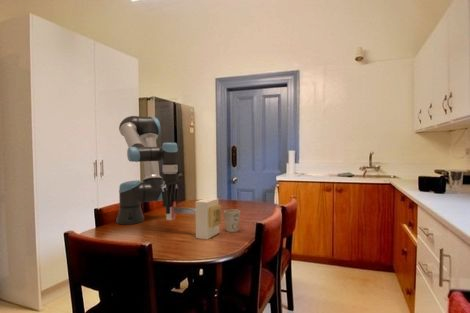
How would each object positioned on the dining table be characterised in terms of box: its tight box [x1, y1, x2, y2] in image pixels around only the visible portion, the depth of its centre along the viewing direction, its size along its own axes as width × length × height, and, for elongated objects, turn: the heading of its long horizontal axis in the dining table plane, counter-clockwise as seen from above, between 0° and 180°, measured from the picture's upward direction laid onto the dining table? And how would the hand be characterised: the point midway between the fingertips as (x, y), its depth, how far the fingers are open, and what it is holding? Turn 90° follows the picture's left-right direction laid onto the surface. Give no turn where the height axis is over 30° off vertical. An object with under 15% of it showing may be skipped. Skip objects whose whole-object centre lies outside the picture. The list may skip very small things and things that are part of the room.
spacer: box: [209, 204, 222, 228], centre depth 140 cm, size 2×9×9 cm, turn 157°
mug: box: [223, 208, 241, 233], centre depth 152 cm, size 8×13×10 cm, turn 27°
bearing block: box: [195, 197, 220, 240], centre depth 141 cm, size 6×12×17 cm, turn 157°
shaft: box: [164, 201, 215, 219], centre depth 145 cm, size 27×3×8 cm, turn 67°
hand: (170, 219), depth 150 cm, fingers closed on shaft, 2 cm apart
